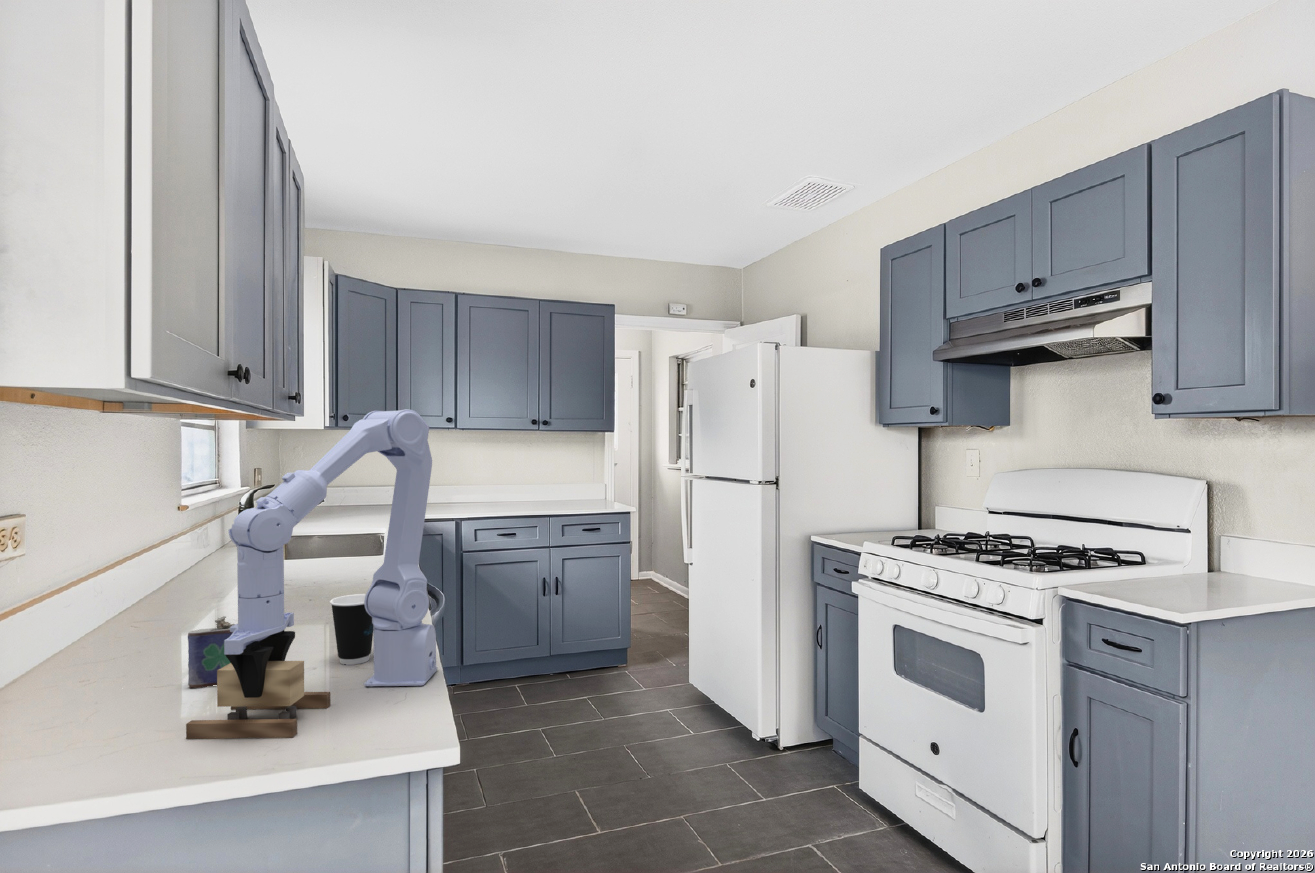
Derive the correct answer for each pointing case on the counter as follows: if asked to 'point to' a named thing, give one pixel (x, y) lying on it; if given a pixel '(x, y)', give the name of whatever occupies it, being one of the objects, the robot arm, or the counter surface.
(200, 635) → the flask
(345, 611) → the dixie cup
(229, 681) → the light wooden block
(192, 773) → the counter surface
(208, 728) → the peg frame
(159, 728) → the counter surface
